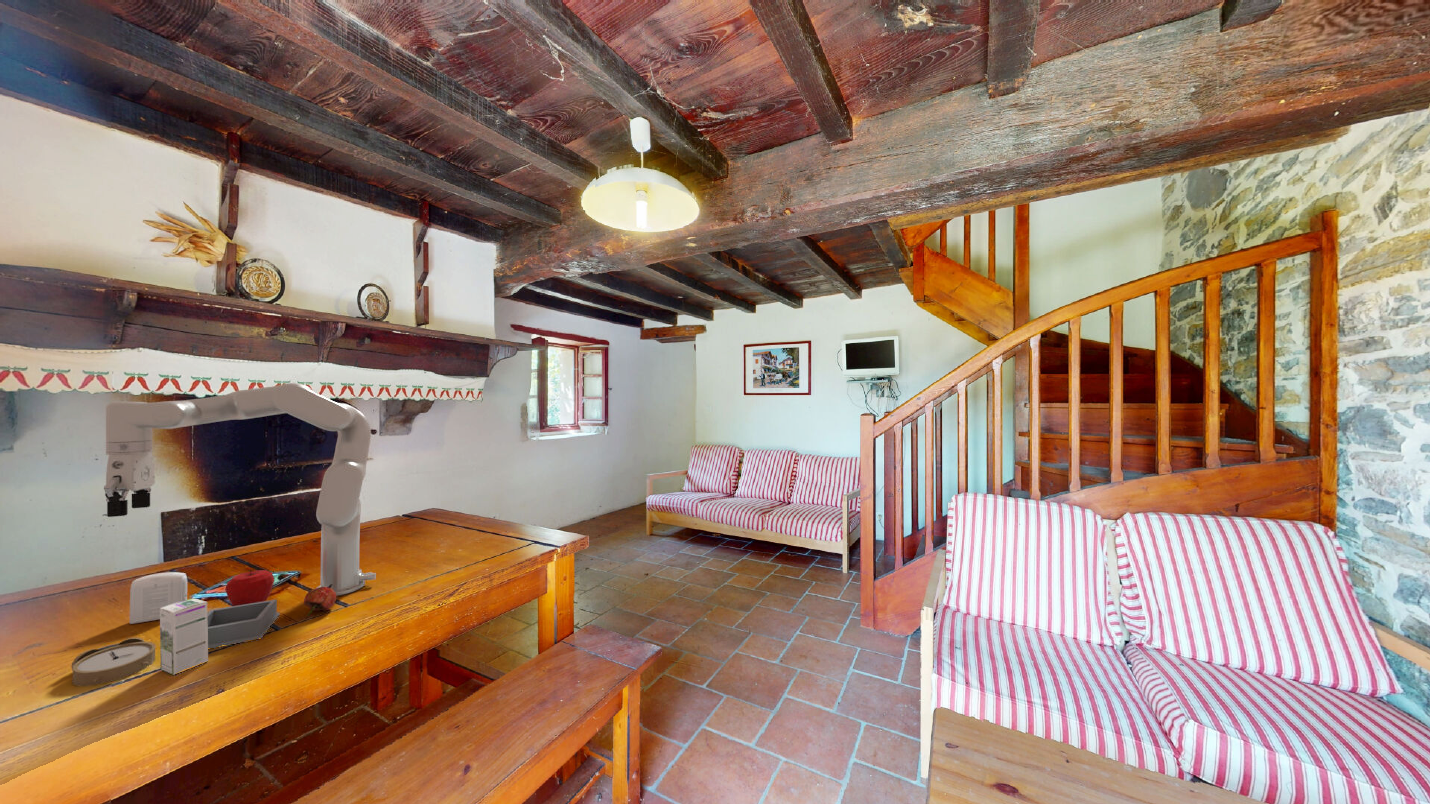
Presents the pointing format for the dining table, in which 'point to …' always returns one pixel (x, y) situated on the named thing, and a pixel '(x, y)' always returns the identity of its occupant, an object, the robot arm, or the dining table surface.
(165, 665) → the syrup box
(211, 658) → the dining table surface
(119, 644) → the alarm clock
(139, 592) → the photo printer
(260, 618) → the grey square tray
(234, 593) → the apple
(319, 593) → the pomegranate
